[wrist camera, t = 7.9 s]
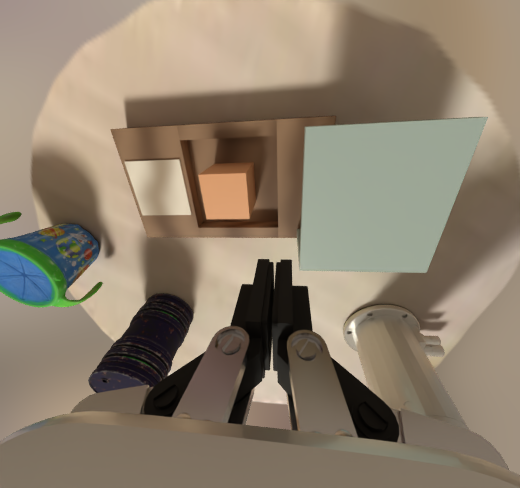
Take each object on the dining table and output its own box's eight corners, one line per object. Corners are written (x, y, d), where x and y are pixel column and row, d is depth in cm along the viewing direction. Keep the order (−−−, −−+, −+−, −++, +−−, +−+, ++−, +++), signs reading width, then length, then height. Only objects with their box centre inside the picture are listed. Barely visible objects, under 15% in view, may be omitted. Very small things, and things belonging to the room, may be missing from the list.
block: (253, 162, 28) (245, 173, 22) (256, 201, 30) (249, 219, 25) (214, 163, 28) (198, 174, 23) (220, 201, 31) (206, 219, 25)
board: (330, 115, 25) (336, 115, 22) (320, 227, 32) (323, 238, 29) (126, 128, 28) (109, 129, 25) (157, 228, 35) (146, 237, 32)
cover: (426, 116, 21) (488, 117, 15) (393, 235, 28) (426, 272, 21) (300, 123, 23) (305, 127, 16) (296, 235, 29) (299, 270, 23)
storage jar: (204, 316, 44) (169, 399, 31) (174, 334, 48) (132, 414, 35) (164, 284, 41) (108, 362, 28) (136, 306, 45) (75, 383, 32)
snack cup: (22, 215, 37) (-62, 246, 28) (60, 187, 33) (-21, 213, 24) (94, 283, 43) (44, 326, 34) (132, 265, 40) (88, 308, 31)
